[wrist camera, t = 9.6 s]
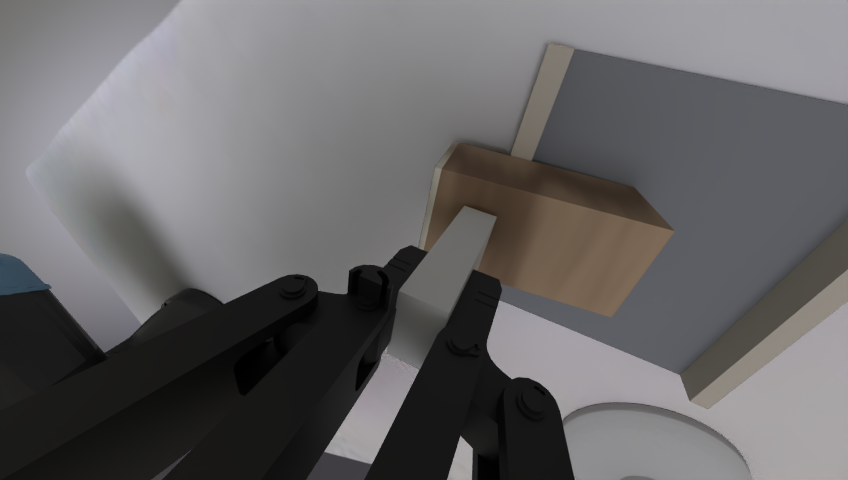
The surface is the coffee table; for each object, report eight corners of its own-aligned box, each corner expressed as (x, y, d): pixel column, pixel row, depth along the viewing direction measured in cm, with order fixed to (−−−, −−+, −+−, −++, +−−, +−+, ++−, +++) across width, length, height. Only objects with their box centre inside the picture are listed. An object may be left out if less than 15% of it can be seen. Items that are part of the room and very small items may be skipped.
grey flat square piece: (467, 283, 24) (458, 301, 22) (550, 44, 15) (547, 40, 13) (694, 376, 20) (708, 409, 18) (971, 131, 12) (1050, 143, 10)
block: (416, 257, 16) (611, 317, 15) (435, 167, 13) (674, 231, 12) (436, 216, 20) (590, 261, 19) (454, 141, 18) (634, 187, 16)
